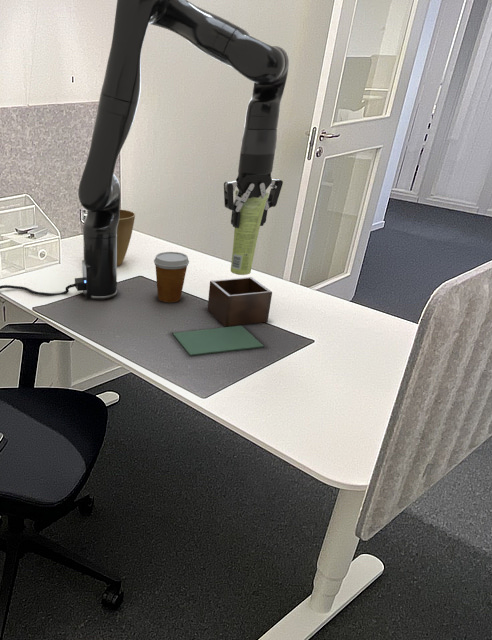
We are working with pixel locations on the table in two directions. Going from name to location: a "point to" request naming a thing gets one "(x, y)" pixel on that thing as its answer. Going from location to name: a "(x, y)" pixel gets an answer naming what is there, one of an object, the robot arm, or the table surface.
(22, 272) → the table surface
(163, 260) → the disposable coffee cup
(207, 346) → the felt mat
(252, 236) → the tube
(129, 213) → the plant pot
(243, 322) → the box
